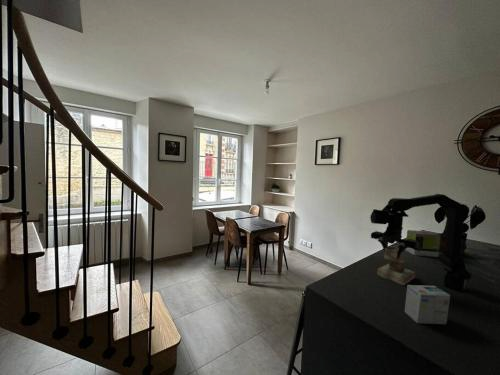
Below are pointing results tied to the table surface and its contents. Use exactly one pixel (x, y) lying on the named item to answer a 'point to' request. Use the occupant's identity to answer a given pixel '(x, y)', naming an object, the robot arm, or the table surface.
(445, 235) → the glass bottle
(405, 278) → the plinth
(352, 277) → the table surface
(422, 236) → the tea box
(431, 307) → the light bulb box
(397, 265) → the walnut block
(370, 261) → the table surface
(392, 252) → the oak block
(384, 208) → the robot arm
